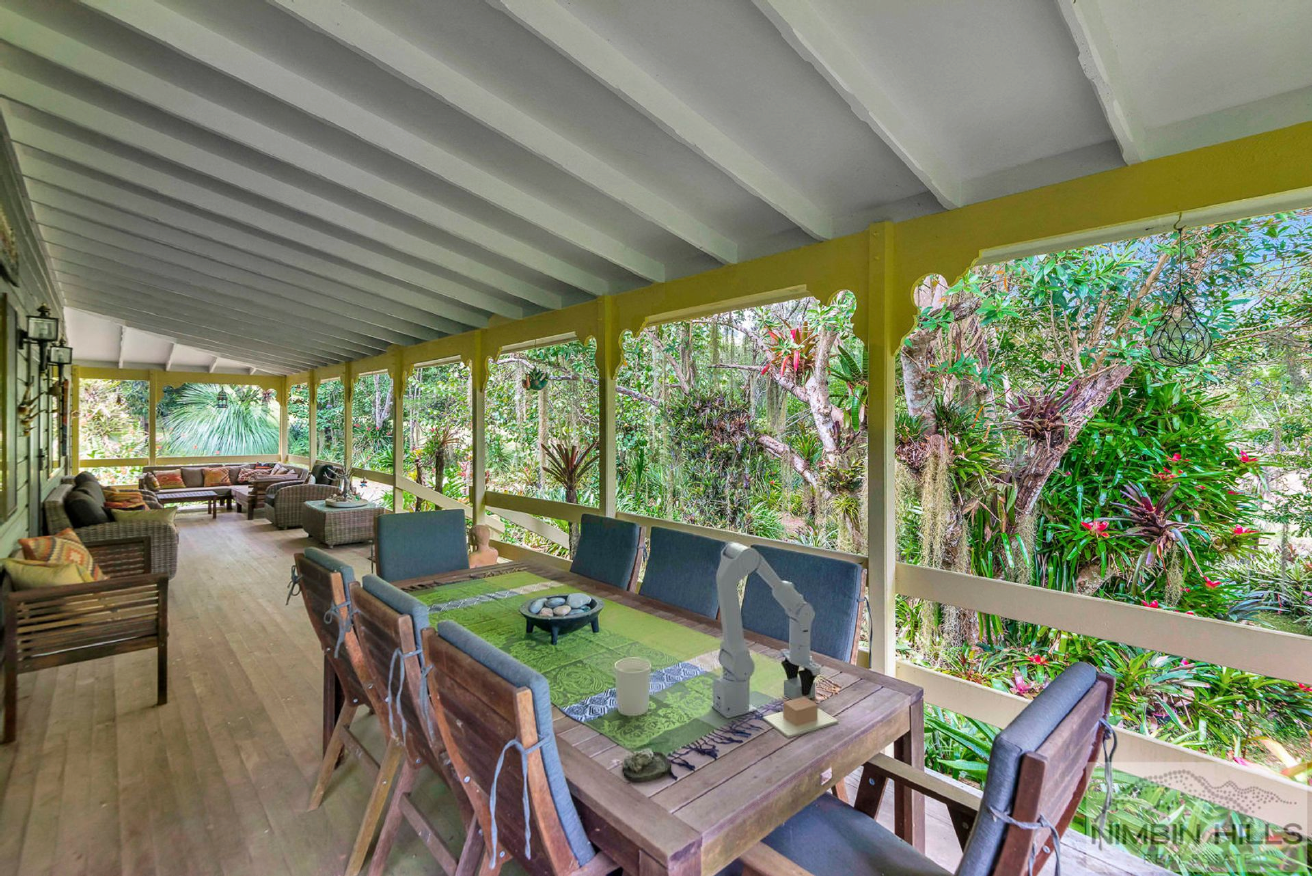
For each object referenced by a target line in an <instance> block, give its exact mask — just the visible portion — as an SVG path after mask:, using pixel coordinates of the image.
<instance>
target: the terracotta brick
mask: <svg viewBox="0 0 1312 876" xmlns="http://www.w3.org/2000/svg"><path fill="white" fill-rule="evenodd" d="M782 702H783V704H782V706H783V707H782V710H783V718H785V719H786V720H788V721H789V722H790V723H792V724H793V725H795V726H799V725H803V724H806V723H809V722H813V721H816V720H818V708H819V707H818V706H819V705H818V703H816V702H815V701H812V700H811V699H810V698H809V699H808V698H806V697H805V696H804V697H800V698H797V699H793V700H791V699H789V700H787V701H782Z"/></svg>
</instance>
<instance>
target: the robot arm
mask: <svg viewBox="0 0 1312 876" xmlns="http://www.w3.org/2000/svg"><path fill="white" fill-rule="evenodd" d="M752 572H755V573H757V574H758V575H759V577H761V579H763V581H764V582H765V583H767V585H768V586H770V588H771V589H772V590H771V594H772V596H773V598H774V599H775V600H776V601H777V603H779V604H780V606H782V607H783V609H784V613H785V615H787V616H789V619H788V620H789V623H788V624H789V626H788V627H789V631H788V633H789V636H788V637H789V642H788V646H789V647H788V649H787V648H782V649H780V657H781V658H785V659H784V660H782V661H781V662H780V663H781V666H782V667H783V669H784V671H785V675H786V678H787V679H786V680H788V679H792V678H796V677H800V680H801V688H802V695H803V696H806V695H810V691H811V687H812V684H813V682H815V680H816V677H817V676H819V675H821V667H820V666H819V665H817V664H816V663H815V661H814V660H813V656H812V655H811V629H812V622H813V621H814V618H815V615H816V612H815V611H814V608H813V606H812V604H810V603H808V602H806V601H805V600H804V598H805V597H804V595H803V594H800V593H799V592H798V591H797V590H796V588H795V584H794V583H792V582H791V581H788V580H782V579H781V578H780V577H779V576H778V574H777V573H776V571H774V569H773V568H772V567H771V566H770V564H769V563H768V562H767V561H766V559H765V558H764V556H763V555H762V554H760V553H759V552H758V550H756V549H755V548H754V547H750V546H748V545H744V544H741V543H740V542H738V541H730V542H729V543H727V545H725V546H724V548H723V549H722V550H721V551H720V562H719V565H718V568H717V571H716V575H715V580H716V589H717V595H718V597H717V598H718V604H719V605H718V606H719V611H720V612H719V613H720V621H721V629H722V636H723V640H722V641H721V642H720V643H719V653H718V656H717V658H718V663H719V665H720V666H722V674H721V676H719V677H718V678H716V679H714V680H713V682H712V703H711V707H712V708H713V709H714V710H716V711H717V712H718V713H719V714H721V715H722V716H723V717H725V718H726V719H731V718H735V717H738V716H742V715H745V714H749V713H753V712H757V708H756V707H755V706H753V705H752V704H750V703H751V702H750V700H751V699H750V698H751V697H750V692H751V691H750V686H751V684H750V680H751V677H752V676H753V674H754V672H755V668H756V667H755V662H754V660H753V659H752V657H751V652H750V649H749V647H748V645H747V643H746V642H745V636H744V630H743V621H742V613H741V606H740V598H739V597H740V596H739V589H738V584H739V582H740V581H741V580H743V579H744V578H745V577H747V576H748V575H750V574H751V573H752ZM800 667H801V668H803V669H801V670H800Z"/></svg>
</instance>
